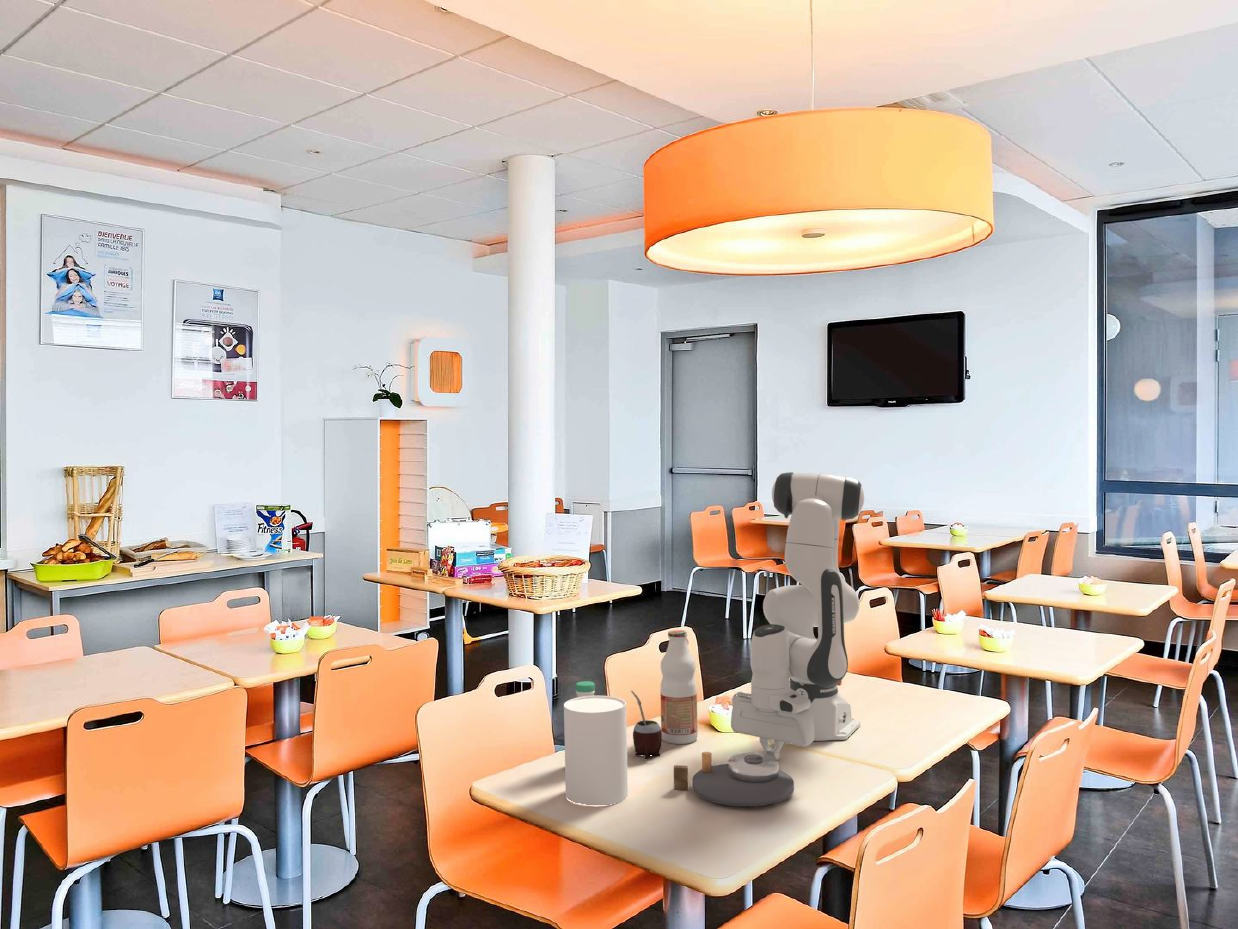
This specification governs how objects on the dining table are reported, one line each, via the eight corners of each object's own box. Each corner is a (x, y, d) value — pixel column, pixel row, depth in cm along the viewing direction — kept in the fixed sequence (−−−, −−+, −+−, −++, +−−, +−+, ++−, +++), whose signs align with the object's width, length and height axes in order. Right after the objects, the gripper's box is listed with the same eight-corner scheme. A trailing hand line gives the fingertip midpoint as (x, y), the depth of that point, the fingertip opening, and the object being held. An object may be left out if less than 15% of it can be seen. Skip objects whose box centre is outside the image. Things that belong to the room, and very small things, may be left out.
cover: (746, 762, 213) (745, 746, 213) (788, 773, 206) (787, 756, 206) (719, 776, 205) (718, 759, 205) (761, 787, 198) (761, 769, 198)
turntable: (728, 763, 218) (728, 739, 218) (812, 783, 203) (812, 758, 203) (672, 790, 201) (671, 765, 201) (758, 814, 187) (758, 787, 187)
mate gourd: (660, 761, 223) (659, 699, 223) (628, 759, 224) (626, 698, 224) (663, 751, 231) (662, 691, 230) (632, 750, 232) (631, 690, 232)
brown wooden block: (688, 788, 205) (687, 765, 205) (687, 790, 203) (687, 768, 203) (674, 787, 205) (674, 765, 205) (674, 790, 204) (673, 767, 204)
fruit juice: (678, 747, 233) (676, 636, 233) (653, 739, 240) (651, 631, 240) (705, 739, 239) (703, 631, 238) (680, 731, 246) (678, 626, 246)
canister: (639, 790, 204) (637, 700, 204) (607, 811, 193) (605, 715, 192) (587, 780, 211) (585, 693, 211) (553, 800, 199) (551, 707, 199)
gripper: (724, 693, 215) (726, 752, 215) (803, 707, 202) (804, 770, 202) (739, 687, 220) (741, 745, 220) (817, 701, 207) (818, 763, 207)
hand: (771, 758), depth 211 cm, fingers closed
